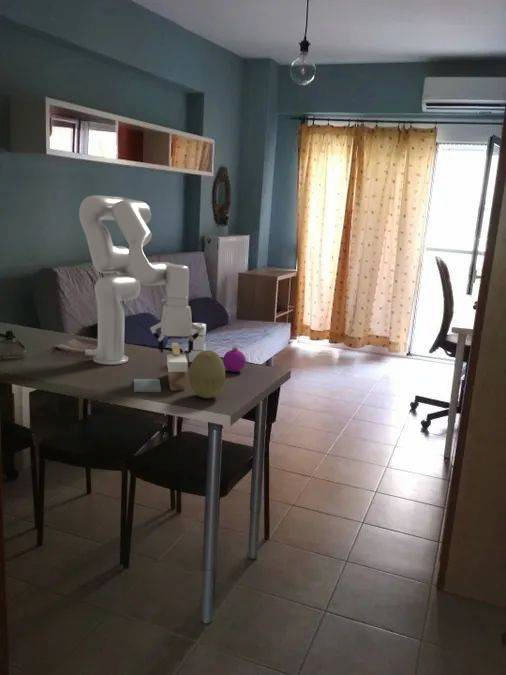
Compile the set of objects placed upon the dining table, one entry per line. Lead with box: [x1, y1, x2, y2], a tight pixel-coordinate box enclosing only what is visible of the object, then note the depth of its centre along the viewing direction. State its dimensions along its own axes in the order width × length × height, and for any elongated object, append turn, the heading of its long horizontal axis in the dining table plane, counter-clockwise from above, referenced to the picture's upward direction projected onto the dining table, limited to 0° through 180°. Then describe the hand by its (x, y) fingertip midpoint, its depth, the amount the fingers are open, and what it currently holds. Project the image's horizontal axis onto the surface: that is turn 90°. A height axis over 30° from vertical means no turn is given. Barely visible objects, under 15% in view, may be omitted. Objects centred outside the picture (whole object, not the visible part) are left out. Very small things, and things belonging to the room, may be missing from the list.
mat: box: [133, 378, 162, 393], centre depth 192 cm, size 8×12×1 cm
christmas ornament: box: [222, 346, 246, 373], centre depth 214 cm, size 8×8×10 cm
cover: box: [166, 353, 189, 373], centre depth 193 cm, size 6×10×3 cm, turn 11°
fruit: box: [188, 349, 226, 399], centre depth 183 cm, size 11×11×15 cm
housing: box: [167, 371, 186, 391], centre depth 197 cm, size 4×18×6 cm, turn 11°
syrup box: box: [188, 322, 207, 363], centre depth 225 cm, size 6×6×14 cm
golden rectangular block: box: [171, 342, 181, 355], centre depth 200 cm, size 2×9×6 cm, turn 11°
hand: (175, 351), depth 201 cm, fingers open, 9 cm apart
